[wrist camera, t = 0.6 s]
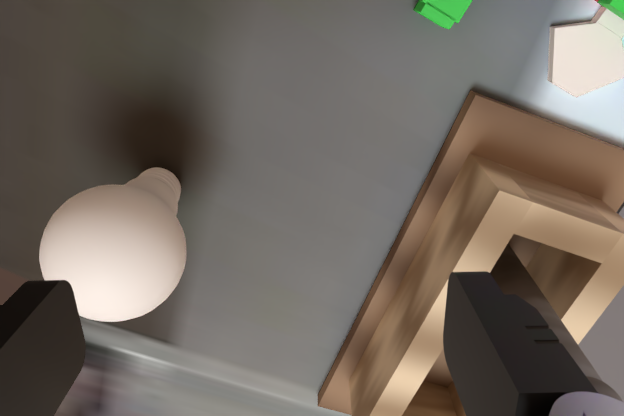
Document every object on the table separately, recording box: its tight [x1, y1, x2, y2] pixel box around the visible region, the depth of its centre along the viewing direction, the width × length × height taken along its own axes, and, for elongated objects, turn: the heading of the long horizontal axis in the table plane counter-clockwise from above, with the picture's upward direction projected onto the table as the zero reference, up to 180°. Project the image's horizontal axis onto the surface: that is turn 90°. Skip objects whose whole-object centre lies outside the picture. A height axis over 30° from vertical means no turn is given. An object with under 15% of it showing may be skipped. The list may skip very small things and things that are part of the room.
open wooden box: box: [349, 153, 624, 416], centre depth 30 cm, size 18×9×5 cm, turn 160°
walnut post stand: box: [318, 90, 624, 415], centre depth 27 cm, size 24×11×14 cm, turn 160°
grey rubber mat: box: [578, 202, 624, 402], centre depth 35 cm, size 22×10×1 cm, turn 160°
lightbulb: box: [39, 167, 186, 322], centre depth 25 cm, size 6×6×11 cm
